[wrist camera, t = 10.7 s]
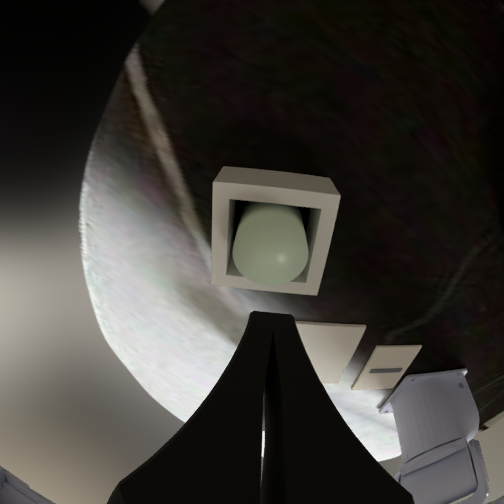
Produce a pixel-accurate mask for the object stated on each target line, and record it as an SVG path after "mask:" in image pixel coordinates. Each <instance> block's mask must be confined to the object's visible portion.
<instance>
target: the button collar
mask: <svg viewBox="0 0 504 504" xmlns="http://www.w3.org/2000/svg"><path fill="white" fill-rule="evenodd" d="M340 196H341V195H340V194H339V192H338V191H337V189H336V187H335V186H334V184H333V183H332V181H331V179H330V178H327V177H320V176H313V175H305V174H298V173H289V172H281V171H272V170H262V169H251V168H240V167H227V166H223V168H222V169H221V171H220V172H219V174H218V175H217V177H216V178H215V180H214V181H213V201H212V285H216V286H225V287H234V288H243V289H252V290H262V291H272V292H283V293H293V294H305V295H317V294H318V290H319V286H320V282H321V279H322V275H323V271H324V267H325V263H326V259H327V255H328V251H329V247H330V242H331V238H332V234H333V229H334V225H335V220H336V216H337V211H338V206H339V201H340ZM236 200H245V201H256V202H266V203H275V204H284V205H293V206H301V207H310V214H309V220H308V225H307V231H306V240H307V245H308V254H309V255H308V261H307V264H306V266H305V268H304V269H303V271H302V272H301V273H300V274H299V275H298V276H297V277H296V278H294V279H293V280H291V281H289V282H287V283H284V284H281V285H274V286H268V285H261V284H257V283H255V282H252V281H250V280H249V279H247V278H246V277H244V276H243V275H242V274H241V273H240V272H239V270H238V269H237V267H236V265H235V263H234V260H233V236H234V218H235V201H236Z"/></svg>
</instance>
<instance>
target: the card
mask: <svg viewBox="0 0 504 504" xmlns="http://www.w3.org/2000/svg"><path fill="white" fill-rule="evenodd" d="M421 348H422V345H393V346H376V347H375V349H374V351H373V353H372V355H371V356H370V358H369V360H368V362H367V363H366V365H365V367H364V369H363V370H362V372H361V374H360V375H359V377H358V379H357V380H356V382H355V384H354V385H353V387H352V388H351V389H352V390H371V389H388V388H393V387H394V386H395V385H396V383H397V382H398V381H399V379H400V378H401V377H402V375H403V374H404V372H405V371H406V370H407V368H408V367H409V365H410V364H411V363H412V361H413V360H414V358H415V357H416V355H417V354H418V352H419V351H420V349H421Z"/></svg>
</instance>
